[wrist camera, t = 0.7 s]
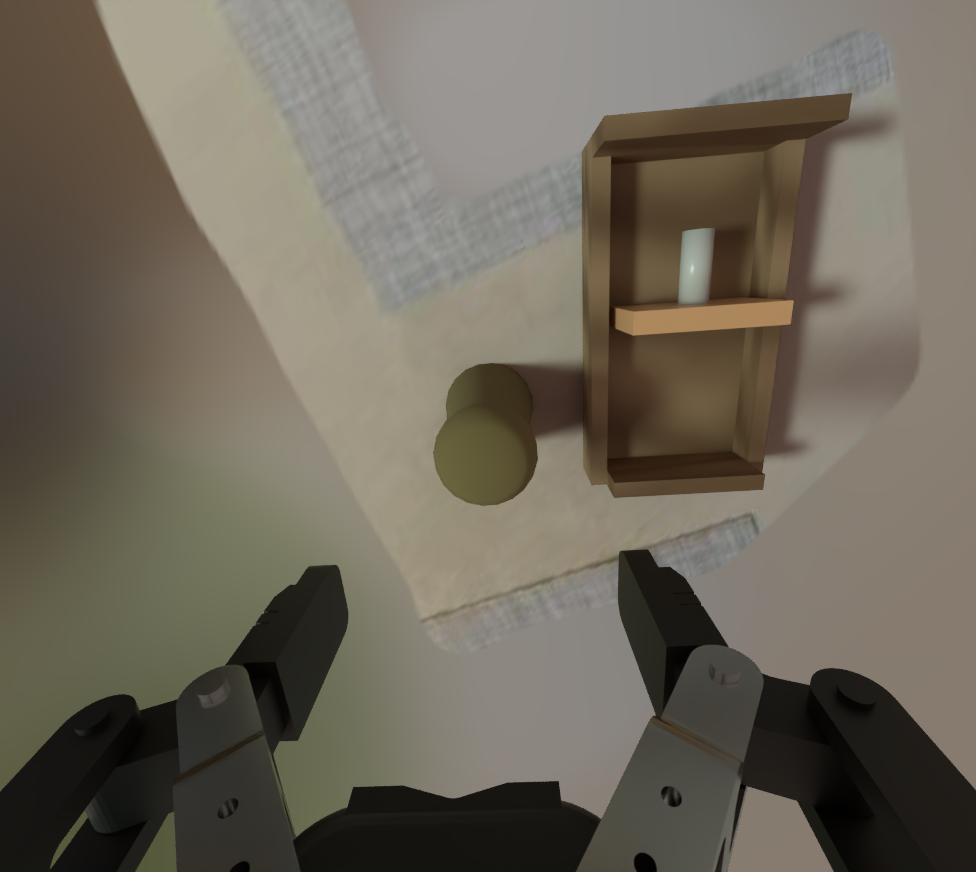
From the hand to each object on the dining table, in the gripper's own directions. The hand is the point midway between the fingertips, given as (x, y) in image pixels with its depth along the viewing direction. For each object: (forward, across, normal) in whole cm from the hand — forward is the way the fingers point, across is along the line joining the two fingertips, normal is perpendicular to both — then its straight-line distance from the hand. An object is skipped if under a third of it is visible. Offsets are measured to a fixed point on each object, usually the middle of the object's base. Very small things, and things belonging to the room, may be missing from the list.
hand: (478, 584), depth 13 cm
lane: (+20, -12, -5) cm, 24 cm away
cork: (+20, 0, 0) cm, 20 cm away
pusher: (+18, -12, -8) cm, 23 cm away
